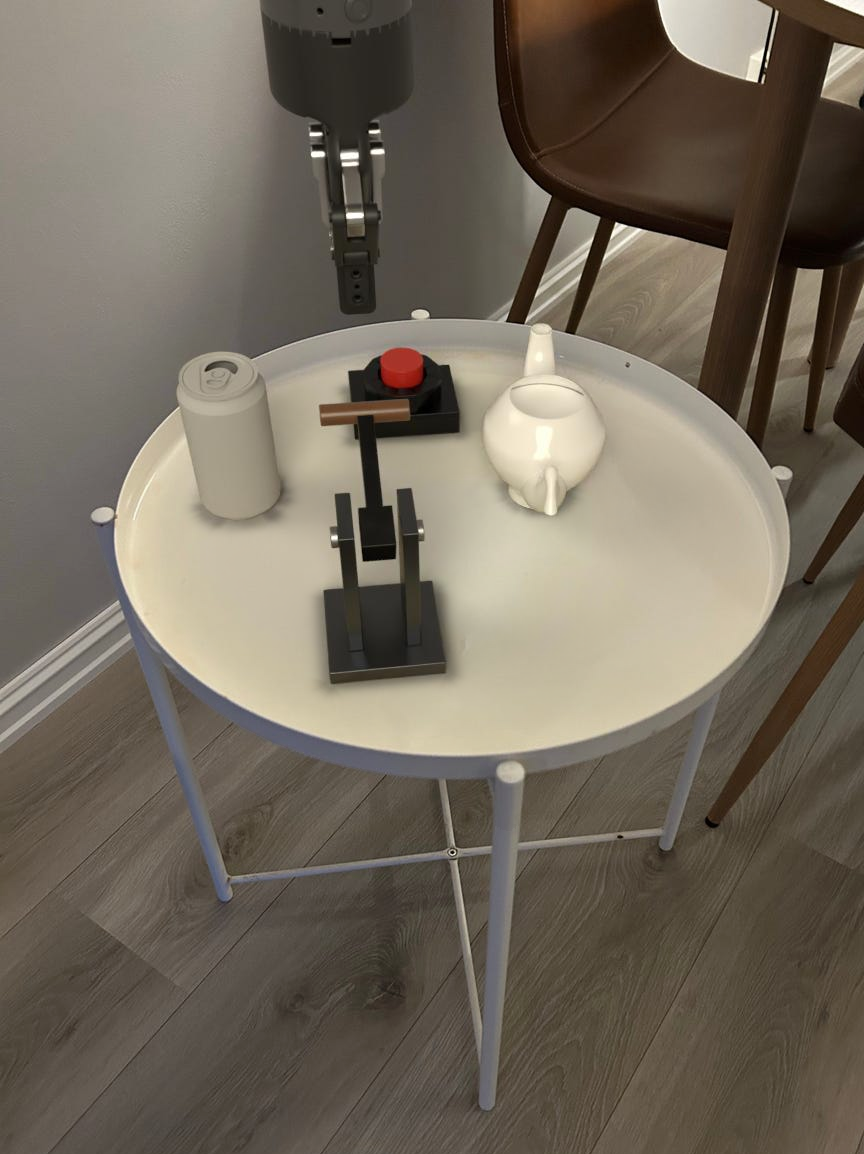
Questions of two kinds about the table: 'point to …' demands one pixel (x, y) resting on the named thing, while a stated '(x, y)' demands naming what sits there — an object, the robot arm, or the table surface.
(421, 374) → the button
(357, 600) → the bracket
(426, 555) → the table surface
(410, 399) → the control block
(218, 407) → the beverage can
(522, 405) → the teapot
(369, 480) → the lever
